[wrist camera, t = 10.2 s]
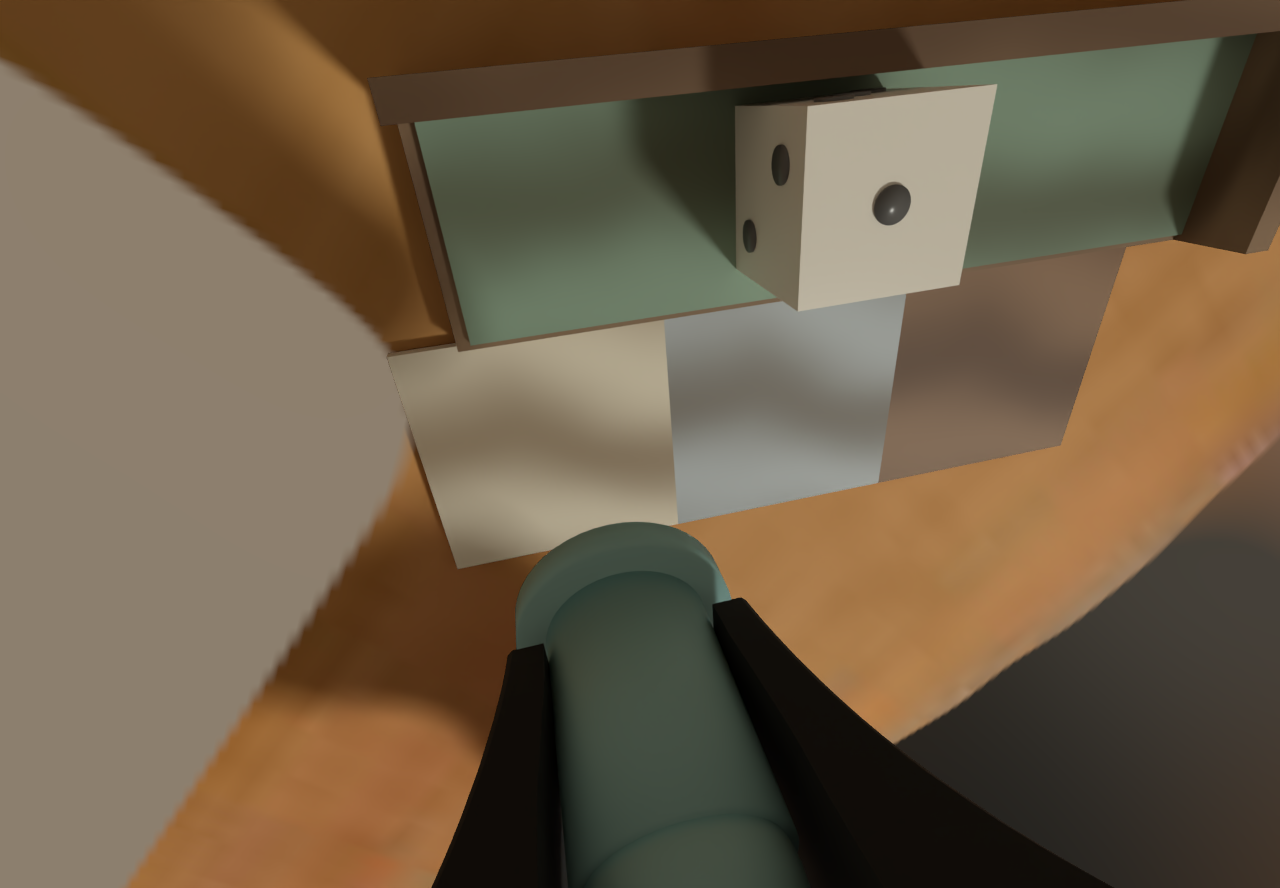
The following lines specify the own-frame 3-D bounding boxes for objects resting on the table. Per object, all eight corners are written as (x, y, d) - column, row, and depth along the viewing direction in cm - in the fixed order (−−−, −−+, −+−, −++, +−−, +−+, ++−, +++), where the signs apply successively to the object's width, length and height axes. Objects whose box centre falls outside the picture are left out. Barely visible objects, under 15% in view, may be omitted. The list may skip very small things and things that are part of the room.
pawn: (722, 651, 14) (894, 1067, 8) (537, 695, 14) (569, 1182, 8) (717, 502, 12) (953, 928, 6) (494, 548, 12) (489, 1078, 5)
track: (1054, 441, 24) (1060, 445, 24) (458, 563, 21) (457, 569, 21) (1120, 239, 20) (1128, 241, 20) (388, 353, 17) (386, 357, 16)
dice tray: (1170, 231, 20) (1268, 250, 18) (459, 342, 17) (453, 384, 14) (1255, -1, 17) (1389, -19, 14) (391, 82, 14) (367, 78, 11)
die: (867, 248, 17) (961, 285, 14) (733, 269, 16) (796, 313, 13) (884, 85, 15) (1000, 80, 11) (732, 102, 14) (805, 102, 11)
